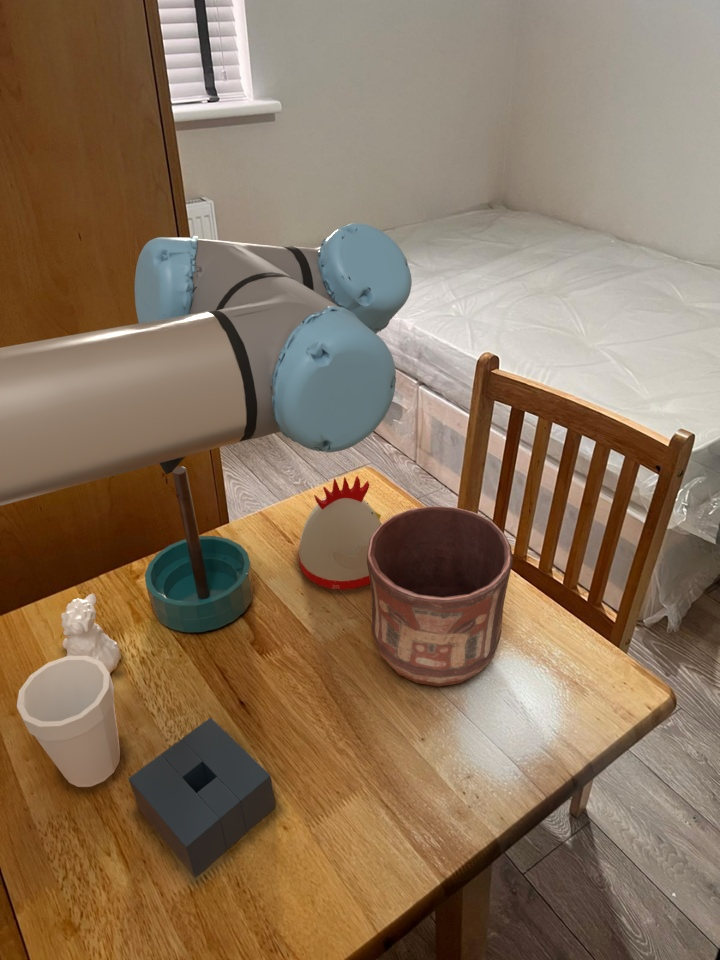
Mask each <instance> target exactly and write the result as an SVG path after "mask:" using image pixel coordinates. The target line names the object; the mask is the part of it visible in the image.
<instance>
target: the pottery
mask: <svg viewBox="0 0 720 960" xmlns="http://www.w3.org/2000/svg"><path fill="white" fill-rule="evenodd" d="M513 560H514V557H513V550H512V545H511V543H510V542H509V540H508V537H507V536H506V534H505V532H504V531H502V529H501V528H500V527H499V526H498V525H497V524H496V523H495V522H494V521H492V520H491V519H488V518H486V517H485V516H483V515H481V514H479V513H477V512H474V511H471V510H466V509H464V508H463V509H462V508H460V507H459V508H458V507H453V506H442V505H441V506H440V505H429V506H422V507H421V506H420V507H415V508H410V509H407V510H404V511H402V512H400V513H396V514H394V515H391V516H390V517H389V518H388V519H386V520H384V521H383V522H382V523H381V525H379V527H378V528H377V529H376V531H375V532H374V534H373V535H372V536H371V538H370V539H369V546H368V552H367V566H368V571H369V576H370V583H369V584H370V594H371V616H370V617H371V619H370V620H371V621H370V627H371V634H372V637H373V639H374V642H375V645H376V648H377V650H378V653H379V655H380V656H381V657H382V658H383V660H385V662H386V663H387V664H388V665H389V666H390V667H391V668H392V669H393V670H394V671H395V672H396V673H397V674H398V675H399V676H401V677H403V678H405V679H407V680H409V681H412V682H413V683H415V684H421V685H429V686H435V687H444V686H450V685H457V684H461V683H463V682H464V681H466V680H468V679H470V678H472V677H474V676H476V675H477V674H478V673H480V672H481V671H482V670H483V669H484V668H485V667H486V666H487V665H488V664H489V662H490V661H492V659H493V658H494V656H495V654H496V651H497V648H498V646H499V643H500V640H501V635H502V629H503V613H504V605H505V600H506V596H507V595H506V594H507V589H508V584H509V580H510V576H511V571H512V566H513V562H514V561H513Z"/></svg>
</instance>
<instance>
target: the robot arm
mask: <svg viewBox="0 0 720 960" xmlns="http://www.w3.org/2000/svg"><path fill="white" fill-rule="evenodd" d="M412 283H413V280H412V273H411V270H410V267H409V263H408V259H407V257H406V256H405V253H404V252H403V250H402V249H401V248H400V246H399V245H398V244H397V243H396V241H394V239H392V238H391V237H390V236H389V235H388V234H386V232H384V231H383V230H381V229H379V228H377V227H375V226H373V225H369V224H367V223H361V222H357V223H356V222H355V223H349V224H346V225H342V226H340V227H339V228H337V229H336V230H335V231H334V232H333V233H331V235H329V236H328V237H326V238H324V239H323V240H322V242H321V243H320V247H315V248H314V247H305V246H304V247H303V246H294V245H293V246H292V245H291V246H290V245H289V246H277V245H266V244H258V243H257V244H256V243H248V242H247V243H246V242H237V241H227V240H226V241H225V240H218V239H217V240H216V239H215V240H214V239H207V238H199V237H198V236H197V235H192V236H190V237H161V236H159V237H155V238H153V239H150V240H149V241H148V242H146V243H145V244H144V246H143V248H142V249H141V252H140V253H139V256H138V260H137V263H136V267H135V276H134V305H135V311H136V317H137V322H138V323H133V324H127V325H122V326H117V327H111V328H105V329H99V330H93V331H88V332H87V331H86V332H82V333H76V334H71V335H66V336H59V337H54V338H48V339H41V340H37V341H31V342H26V343H20V344H13V345H9V346H2V347H0V507H1V506H5V505H8V504H9V505H10V504H12V503H13V504H14V503H17V502H20V501H24V500H28V499H32V498H35V497H38V496H43V495H47V494H50V493H53V492H58V491H61V490H65V489H68V488H72V487H73V488H74V487H76V486H80V485H84V484H88V483H92V482H94V481H95V482H96V481H98V480H103V479H106V478H109V477H113V476H117V475H121V474H124V473H128V472H132V471H136V470H139V469H143V468H148V467H151V466H155V465H160V467H161V469H162V470H163V472H164V474H165V475H169V474H171V473H172V471H173V470H174V469H175V468H176V467H179V465H180V463H182V461H183V460H185V458H186V457H188V456H192V455H196V454H199V453H204V452H206V451H211V450H215V449H219V448H221V447H226V446H230V445H233V444H237V443H242V442H244V441H248V440H255V439H258V438H262V437H267V436H270V435H273V434H278V433H281V434H282V435H283V436H284V437H285V438H286V439H291V441H293V443H297V444H299V445H300V446H302V448H306V449H309V450H312V451H314V452H315V451H316V452H325V453H336V452H342V451H345V450H347V449H350V448H352V447H354V446H356V445H358V444H359V443H361V442H362V441H363V440H365V439H366V438H368V437H369V436H370V435H371V434H372V433H373V432H374V431H376V429H377V428H378V427H379V426H380V424H381V422H382V421H383V420H384V419H385V417H386V416H387V414H388V412H389V410H390V408H391V405H392V403H393V400H394V397H395V391H396V383H397V377H396V373H397V369H396V364H395V360H394V357H393V355H392V353H391V351H390V349H389V347H388V345H387V343H386V342H385V341H384V340H383V338H381V336H379V335H378V333H379V332H382V330H384V329H386V328H387V327H388V326H389V324H390V321H391V320H392V319H393V318H394V316H395V315H396V314H397V313H398V312H399V311H400V310H401V309H402V308H403V307H404V306H405V305H406V303H407V301H408V299H409V297H410V295H411V290H412Z"/></svg>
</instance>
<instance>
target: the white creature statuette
mask: <svg viewBox="0 0 720 960" xmlns="http://www.w3.org/2000/svg"><path fill="white" fill-rule="evenodd" d="M96 603H97V597H96V595H95V593H90V594H89V595H87V596H86V597H84V599H82V598H80V597H77V598H75V599H72V600H71V602H68V604H67V606H66V607H65V612H62V613H61V614H60V617H61V628H63V631H62V634H63V635H64V636H67V637H65V638H64V639H63V641H62V645H61V646H62V648H63V649H65V650H66V656H89V657H92V658H94V659H97V660H99V661H101V662H102V663H103V665H104V666H105V667H106V669H107V670H108V672H109V673H110V674H111V673H112V672H113V671H114V670H115V669H117V667H118V664H119V662H120V660H121V657H122V656H121V655H122V654H121V651H120V645H119V644H118V643H117V641H116V640H115V639H112V638H111V637H110V636H109V635H108V634H106V632H104V629H102V628H101V626H100V624H98V623H96V620H97V611H96V609H95V605H96Z"/></svg>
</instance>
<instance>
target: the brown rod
mask: <svg viewBox="0 0 720 960" xmlns="http://www.w3.org/2000/svg"><path fill="white" fill-rule="evenodd" d="M171 473H172V477H173V483H174V488H175V492H176V497H177V502H178V507H179V513H180V517H181V521H182V526H183V531H184V536H185V539H186V542H187V547H188V552H189V556H190V561H191V566H192V571H193V576H194V581H195V586H196V591H197V596H198V598H199V599H206V598H208V597H209V596H210V591H209V586H208V580H207V575H206V570H205V564H204V559H203V554H202V549H201V543H200V538H199V536H200V533H199V528H198V523H197V518H196V513H195V507H194V506H195V505H194V502H193V497H192V491H191V485H190V480H189V475H188V471H187V468H186V467H184V466H177V467H176V468H175V469H174V470H173V471H172V472H171Z"/></svg>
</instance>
